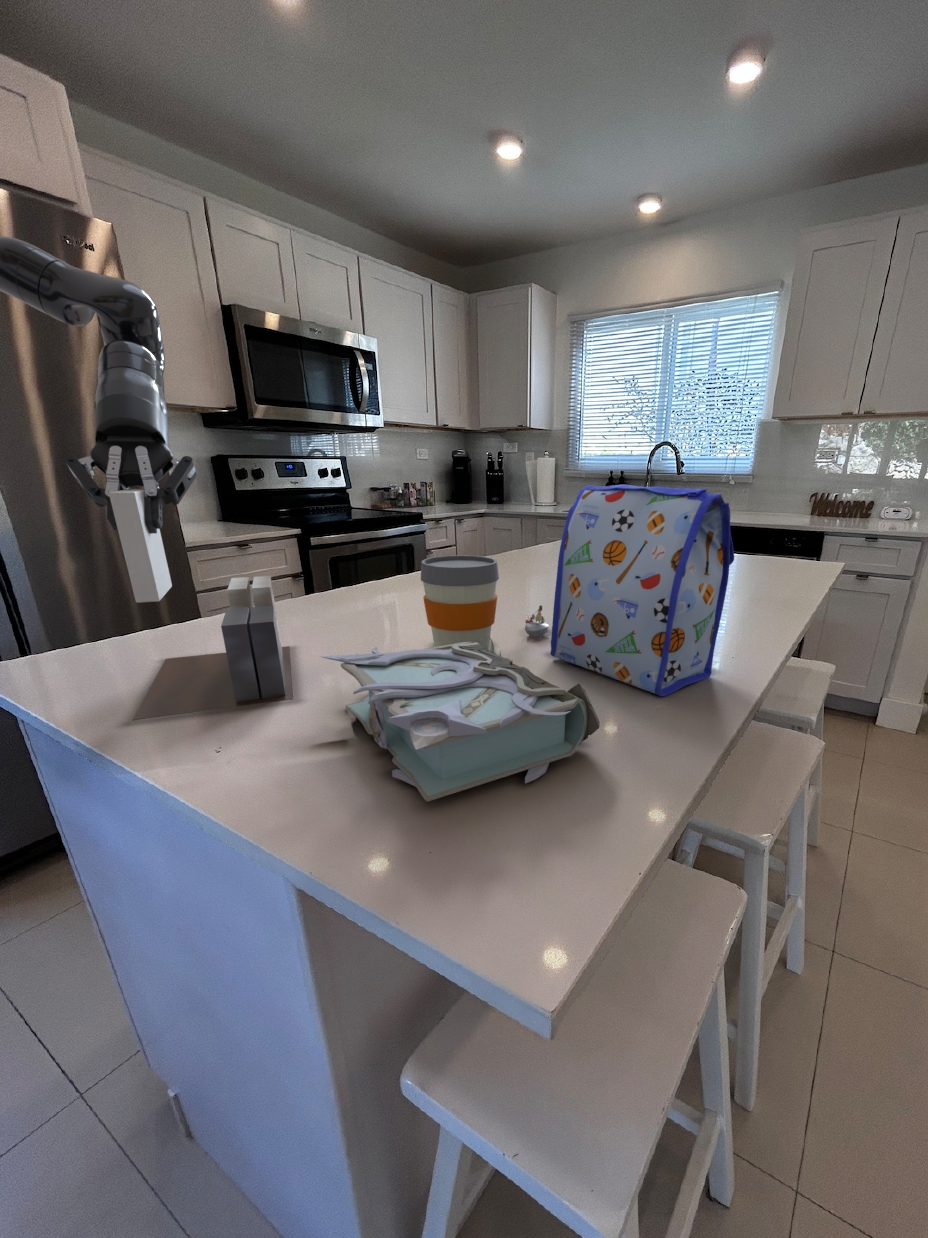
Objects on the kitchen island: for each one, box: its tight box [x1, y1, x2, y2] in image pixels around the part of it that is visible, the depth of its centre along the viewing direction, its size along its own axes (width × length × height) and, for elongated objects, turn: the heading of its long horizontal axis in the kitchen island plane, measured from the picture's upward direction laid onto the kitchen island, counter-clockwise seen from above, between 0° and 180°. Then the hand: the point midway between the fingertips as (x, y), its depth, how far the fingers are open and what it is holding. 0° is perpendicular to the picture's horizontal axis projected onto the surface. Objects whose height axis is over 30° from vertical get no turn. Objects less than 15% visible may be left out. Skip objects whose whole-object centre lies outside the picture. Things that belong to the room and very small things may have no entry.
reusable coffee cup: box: [420, 554, 500, 651], centre depth 93 cm, size 13×13×15 cm
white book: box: [109, 488, 173, 604], centre depth 67 cm, size 2×9×12 cm, turn 21°
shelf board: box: [132, 575, 295, 721], centre depth 78 cm, size 18×24×13 cm
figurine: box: [524, 604, 550, 641], centre depth 102 cm, size 5×4×6 cm
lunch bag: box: [550, 484, 735, 697], centre depth 83 cm, size 23×17×27 cm
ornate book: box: [319, 635, 601, 803], centre depth 65 cm, size 23×10×30 cm
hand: (135, 529), depth 64 cm, fingers closed on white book, 2 cm apart
